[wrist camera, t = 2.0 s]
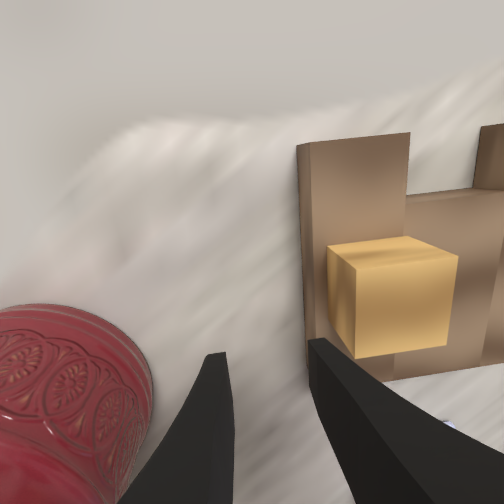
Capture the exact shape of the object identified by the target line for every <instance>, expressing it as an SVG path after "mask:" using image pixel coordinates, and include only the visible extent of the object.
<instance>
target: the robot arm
mask: <svg viewBox="0 0 504 504" xmlns="http://www.w3.org/2000/svg"><path fill="white" fill-rule="evenodd" d="M307 343H308V365H309V387H310V390H311V393H312V397H313V400H314V403H315V406H316V409H317V412H318V416H319V418H320V420H321V423H322V425H323V427H324V430H325V432H326V434H327V437H328V439H329V441H330V444H331V446H332V448H333V450H334V453H335V455H336V457H337V460H338V462H339V464H340V467H341V469H342V471H343V473H344V476H345V478H346V480H347V483H348V485H349V487H350V490H351V492H352V495H353V497H354V500H355V502H356V504H504V454H503V453H501V452H499V451H497V450H495V449H493V448H491V447H489V446H487V445H485V444H483V443H481V442H479V441H477V440H475V439H473V438H471V437H469V436H467V435H465V434H464V433H462V432H460V431H458V430H456V429H455V426H454V424H453V423H452V422H450V421H447V422H442V421H440V420H438V419H436V418H435V417H433V416H431V415H430V414H428V413H426V412H425V411H423V410H421V409H420V408H418V407H417V406H415V405H413V404H412V403H410V402H409V401H407V400H405V399H404V398H402V397H401V396H399V395H398V394H397V393H395V392H394V391H392V390H391V389H389V388H388V387H386V386H385V385H384V384H382V383H381V382H379V381H378V380H377V379H375V378H374V377H373V376H371V375H370V374H369V373H368V372H366V371H365V370H364V369H362V368H361V367H360V366H358V365H357V364H356V363H355V362H353V361H352V360H351V359H350V358H349V357H347V356H346V355H345V354H344V353H343V352H341V351H340V350H339V349H338V348H337V347H335V346H334V345H333V344H332V343H331V342H329V341H328V340H327V339H326V338H325V337H323V338H316V339H309V340H307ZM234 437H235V427H234V411H233V398H232V391H231V385H230V378H229V372H228V365H227V359H226V352H221V353H215V354H208V355H207V356H206V357H205V359H204V362H203V365H202V367H201V370H200V372H199V374H198V376H197V378H196V381H195V383H194V385H193V387H192V389H191V391H190V393H189V395H188V397H187V399H186V400H185V402H184V404H183V406H182V408H181V410H180V411H179V413H178V415H177V417H176V418H175V420H174V422H173V423H172V425H171V427H170V428H169V430H168V432H167V433H166V435H165V437H164V438H163V440H162V441H161V443H160V444H159V446H158V447H157V449H156V450H155V452H154V453H153V455H152V456H151V458H150V459H149V461H148V462H147V463H146V465H145V466H144V468H143V469H142V470H141V472H140V473H139V474H138V476H137V477H136V478H135V480H134V481H133V482H132V484H131V485H130V486H129V488H128V489H127V490H126V492H125V493H124V494H123V496H122V497H121V498H120V499H119V501H118V502H117V503H116V504H233V472H234Z"/></svg>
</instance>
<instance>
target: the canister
mask: <svg viewBox="0 0 504 504" xmlns="http://www.w3.org/2000/svg"><path fill="white" fill-rule="evenodd" d="M152 391H153V387H152V378H151V373H150V370H149V367H148V365H147V362H146V360H145V358H144V357H143V355H142V353H141V352H140V350H139V349H138V348H137V346H136V345H135V344H134V343H133V342H132V341H131V340H130V339H129V338H128V337H127V336H126V335H125V334H124V333H123V332H121V331H120V330H119V329H118V328H116V327H115V326H113V325H112V324H110V323H109V322H107V321H105V320H103V319H101V318H99V317H97V316H95V315H93V314H90V313H88V312H85V311H82V310H79V309H75V308H71V307H67V306H61V305H54V304H25V305H18V306H13V307H9V308H5V309H2V310H0V504H116V503H117V502H118V501H119V499H120V498H121V497H122V496H123V494H124V493H125V492H126V490H127V487H128V484H129V480H130V477H131V473H132V470H133V467H134V463H135V460H136V456H137V453H138V450H139V448H140V447H141V445H142V443H143V441H144V438H145V436H146V433H147V429H148V425H149V422H150V418H151V412H152Z"/></svg>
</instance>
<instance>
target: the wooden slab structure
mask: <svg viewBox="0 0 504 504" xmlns="http://www.w3.org/2000/svg"><path fill="white" fill-rule="evenodd" d="M409 146H410V132H408V133H398V134H388V135H378V136H368V137H358V138H349V139H339V140H329V141H319V142H310V143H305V144H301V145H297V164H298V186H299V207H300V229H301V251H302V272H303V294H304V315H305V337H306V358H307V367H308V370H309V365H308V343H307V340H309V339H316V338H323V337H325V338H326V339H327V340H328V341H329V342H331V343H332V344H333V345H334V346H335V347H337V348H338V349H339V350H340V351H341V352H343V353H344V354H345V355H346V356H347V357H349V358H350V359H351V360H352V361H353V362H355V363H356V364H357V365H358V366H360V367H361V368H362V369H364V370H365V371H366V372H368V373H369V374H370V375H371V376H373V377H374V378H375V379H377V380H378V381H379V382H387V381H393V380H399V379H406V378H412V377H418V376H424V375H431V374H437V373H443V372H449V371H456V370H462V369H468V368H474V367H481V366H487V365H493V364H499V363H504V124H496V125H489V126H482V127H481V134H480V141H479V148H478V155H477V162H476V169H475V176H474V183H473V188H465V189H456V190H448V191H439V192H431V193H422V194H413V195H406V188H407V174H408V160H409ZM402 236H409V237H412V238H414V239H417V240H419V241H422V242H424V243H427V244H429V245H432V246H434V247H437V248H439V249H442V250H444V251H447V252H449V253H452V254H455V255H457V256H459V257H458V264H457V271H456V279H455V286H454V293H453V300H452V308H451V315H450V322H449V329H448V337H447V344H446V345H444V346H437V347H431V348H424V349H418V350H411V351H405V352H398V353H392V354H385V355H379V356H372V357H366V358H359V359H354V357H353V356H352V354H351V353H350V351H349V350H348V348H347V347H346V345H345V344H344V342H343V341H342V339H341V338H340V336H339V335H338V333H337V332H336V330H335V329H334V327H333V326H332V324H331V323H330V321H329V320H328V280H327V246H331V245H339V244H347V243H354V242H362V241H370V240H378V239H386V238H394V237H402Z"/></svg>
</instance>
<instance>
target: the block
mask: <svg viewBox="0 0 504 504" xmlns="http://www.w3.org/2000/svg"><path fill="white" fill-rule="evenodd" d="M458 257H459V256H457V255H455V254H452V253H449V252H447V251H444V250H442V249H439V248H437V247H434V246H432V245H429V244H427V243H424V242H422V241H419V240H417V239H414V238H412V237H409V236H402V237H394V238H386V239H378V240H370V241H362V242H354V243H347V244H339V245H331V246H327V280H328V320H329V321H330V323H331V324H332V326H333V327H334V329H335V330H336V332H337V333H338V335H339V336H340V338H341V339H342V341H343V342H344V344H345V345H346V347H347V348H348V350H349V351H350V353H351V354H352V356H353V357H354V359H359V358H366V357H372V356H379V355H385V354H392V353H398V352H405V351H411V350H418V349H424V348H431V347H437V346H444V345H446V344H447V337H448V329H449V322H450V315H451V308H452V300H453V293H454V286H455V279H456V271H457V264H458Z"/></svg>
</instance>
